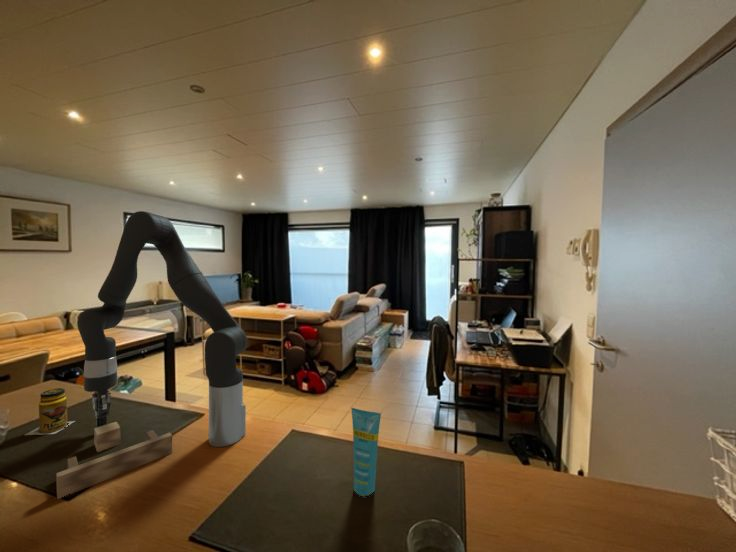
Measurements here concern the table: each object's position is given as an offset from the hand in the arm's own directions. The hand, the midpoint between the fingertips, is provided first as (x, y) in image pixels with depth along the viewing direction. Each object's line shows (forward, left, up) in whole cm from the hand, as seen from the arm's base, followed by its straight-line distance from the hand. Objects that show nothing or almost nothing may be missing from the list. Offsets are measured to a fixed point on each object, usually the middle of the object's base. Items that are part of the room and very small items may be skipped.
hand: (101, 427), depth 91 cm
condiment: (+10, -15, -2) cm, 18 cm away
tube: (-36, +76, -2) cm, 84 cm away
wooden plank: (0, +22, -2) cm, 22 cm away
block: (0, +9, -2) cm, 9 cm away
